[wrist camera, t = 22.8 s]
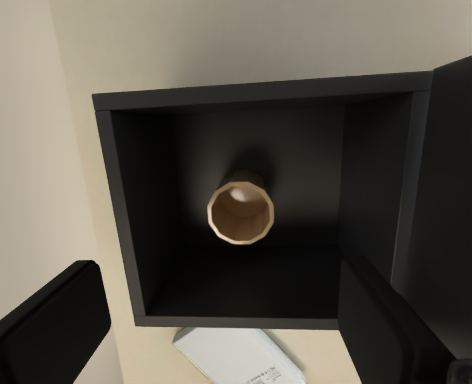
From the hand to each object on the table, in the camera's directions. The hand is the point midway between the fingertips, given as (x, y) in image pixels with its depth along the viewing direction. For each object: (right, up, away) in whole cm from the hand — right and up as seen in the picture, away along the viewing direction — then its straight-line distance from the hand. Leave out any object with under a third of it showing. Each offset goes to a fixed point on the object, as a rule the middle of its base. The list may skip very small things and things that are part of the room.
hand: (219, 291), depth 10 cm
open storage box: (+3, +5, +13) cm, 14 cm away
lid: (+8, 0, -5) cm, 9 cm away
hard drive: (+1, -14, +18) cm, 23 cm away
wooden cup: (+1, +4, +13) cm, 13 cm away
